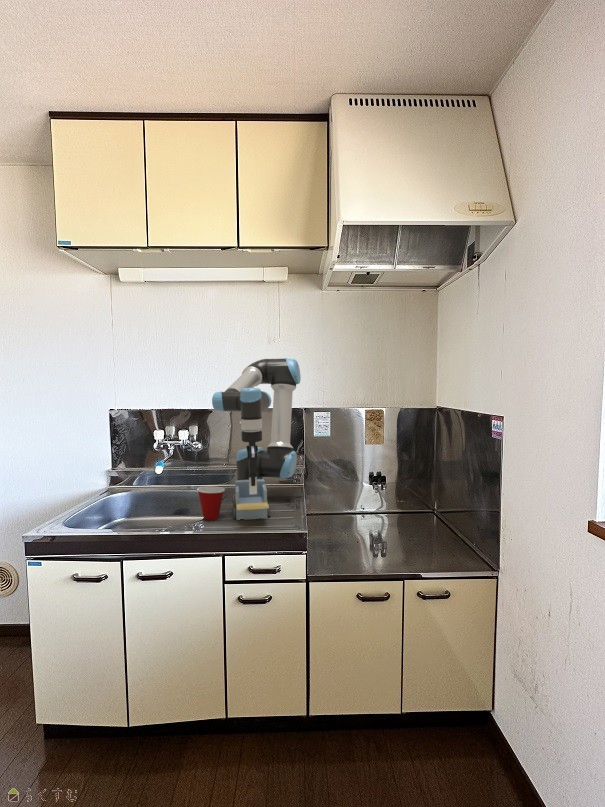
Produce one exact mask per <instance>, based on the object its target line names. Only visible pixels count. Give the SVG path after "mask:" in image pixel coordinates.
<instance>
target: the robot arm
mask: <svg viewBox="0 0 605 807" xmlns="http://www.w3.org/2000/svg"><path fill="white" fill-rule="evenodd" d="M301 380H302V379H301V369H300V365H299V363H298V361H297V359H295V358H287V357H286V358H263V359H258V360H257V361H254V362H252V363H250V364H249V365H248V366H246V367H245V368H244V369H243V370H242V372H241V375H239V377H238V378H237V379H235V381H233V383H232V384H230V386H228V387H227V389H225V391H216V392H214V393H213V395H212V398H211V404H212V408H213V409H214V411H217V412H222V413H223V412H240V421H239V422H238V423H239V425H241V430H242V431H241V441H242V442H243V443H248V445H246V448H243V449H239V450H238V451H237V452H236V459H235V462H236V480H249V494H250V495H251V494H257V479H264V478H278V479H279V478H280V479H284V478H285V479H286V478H290V477H293V475H294V473H295V471H296V468H297V463H298V462H297V461H298V454H297V452H296V451H295V450H294V447H293V446H292V444H291V433H292V432H291V431H292V429H291V428H292V411H293V393H294V391H295V390H296V389H297V385H300V383H301ZM259 385H270V388H271V389H272V391H273V397H272V398H273V400H272V398H271V395H270V394H269V393H268V392H267V391H263V390H262V389H261V388H260V387H259ZM258 387H259V388H258ZM272 401H273V402H272ZM271 405H272V417H271V432H270V434H271V435H270V436H271V437H270V443H269V444H268V445H267V447H266V450H264V449H263V447H262V446H258V445H257V444H256V443H258V442H261V441H263V431H262V429H263V417H262V415H263V414H262V412H264V411H266V410H267V409H269V407H270V406H271ZM232 498H233V499H232V500H233V502H236V492H235V491H234V493H233V496H232Z"/></svg>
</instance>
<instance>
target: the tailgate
mask: <svg viewBox="0 0 605 807" xmlns="http://www.w3.org/2000/svg"><path fill="white" fill-rule="evenodd" d="M269 506H270V505H269V503H268V504H267V502H264V503H245V504H237V510H246V509H247V510H258V509H264V508H269Z"/></svg>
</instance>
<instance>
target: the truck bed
mask: <svg viewBox="0 0 605 807" xmlns="http://www.w3.org/2000/svg"><path fill="white" fill-rule="evenodd" d="M234 484H235V486H234V492H236V502H235V501H232V513H233V515H232V516H233V517H232V518H233V519H236V520H237V521H240V519H244V520H256V519H257V520H258V519H260V518H261V519H268V517H271V507H270V505H269V500H268V489H267V486H266V482H265V479H264V478H263V479H257V494H251V495H250V494H249V480H237V479H236V480H234ZM264 502H267V504H268V505H269V508H264V509H258V510H247V509H246V510H237V504H245V503H264ZM261 519H260V520H261Z"/></svg>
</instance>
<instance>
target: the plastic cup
mask: <svg viewBox="0 0 605 807" xmlns="http://www.w3.org/2000/svg"><path fill="white" fill-rule="evenodd" d="M196 490H197V494H198V497H199V501H200V502H199V503H200V508H201V513H202V517H203V519H204V520H205V521H216V520H218V519H219V518H218V517H220V511H221V506H222V498H223V495H224V492H225V491H226V489H225V487H222V486H221V487H220V486H212V485H211V486H210V485H209V486H200V487H198V488H197V489H196ZM217 518H218V519H217ZM206 519H207V520H206ZM215 519H216V520H215Z"/></svg>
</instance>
